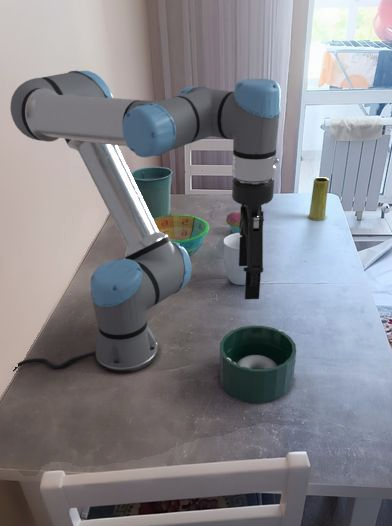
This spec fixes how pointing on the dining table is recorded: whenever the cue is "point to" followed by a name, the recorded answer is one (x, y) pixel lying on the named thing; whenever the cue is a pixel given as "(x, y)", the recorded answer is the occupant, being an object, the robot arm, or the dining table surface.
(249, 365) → the donut
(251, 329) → the pot
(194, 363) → the dining table surface
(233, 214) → the cupcake
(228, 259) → the mug
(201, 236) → the bowl
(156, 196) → the flower pot
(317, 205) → the vase
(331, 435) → the dining table surface
